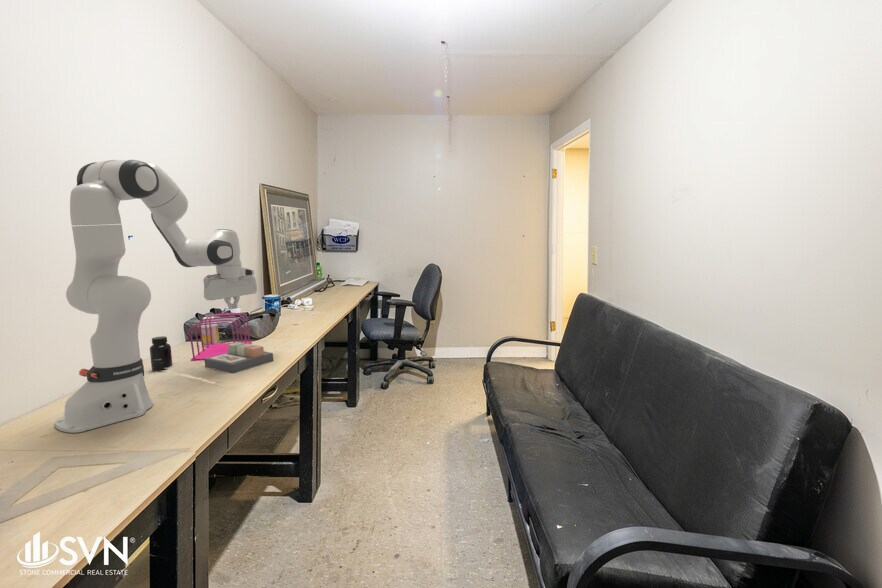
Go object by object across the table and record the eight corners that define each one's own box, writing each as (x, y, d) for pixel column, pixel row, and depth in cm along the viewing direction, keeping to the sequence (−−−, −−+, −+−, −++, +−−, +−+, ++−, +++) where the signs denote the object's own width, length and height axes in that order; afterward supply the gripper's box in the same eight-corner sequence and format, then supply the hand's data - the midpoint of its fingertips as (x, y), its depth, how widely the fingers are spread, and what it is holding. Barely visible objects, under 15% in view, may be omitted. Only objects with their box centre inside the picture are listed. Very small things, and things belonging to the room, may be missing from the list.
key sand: (244, 358, 175) (243, 347, 174) (237, 356, 177) (236, 346, 176) (254, 355, 178) (254, 344, 178) (247, 353, 181) (246, 343, 180)
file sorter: (191, 363, 181) (186, 324, 179) (210, 348, 206) (207, 313, 204) (238, 360, 184) (234, 321, 182) (252, 345, 209) (249, 310, 206)
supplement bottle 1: (153, 372, 170) (150, 340, 169) (150, 369, 176) (146, 337, 174) (175, 368, 175) (171, 337, 173) (170, 365, 180) (167, 334, 178)
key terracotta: (254, 359, 172) (253, 349, 171) (246, 358, 174) (245, 347, 173) (264, 356, 175) (263, 346, 175) (256, 355, 178) (255, 345, 177)
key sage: (235, 356, 177) (234, 346, 177) (228, 354, 180) (227, 344, 179) (245, 353, 181) (244, 343, 181) (238, 352, 184) (237, 342, 183)
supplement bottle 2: (214, 342, 214) (212, 315, 212) (222, 344, 210) (219, 316, 209) (200, 346, 209) (197, 318, 207) (208, 348, 205) (205, 319, 203)
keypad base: (233, 375, 164) (232, 363, 163) (205, 369, 173) (204, 357, 172) (273, 363, 178) (272, 351, 178) (245, 357, 187) (244, 346, 186)
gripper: (208, 275, 166) (212, 314, 168) (257, 270, 183) (260, 305, 185) (198, 275, 169) (202, 312, 171) (247, 269, 186) (250, 304, 188)
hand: (233, 308), depth 178 cm, fingers closed
